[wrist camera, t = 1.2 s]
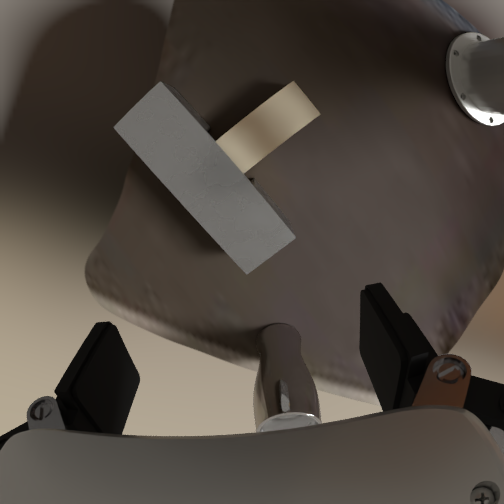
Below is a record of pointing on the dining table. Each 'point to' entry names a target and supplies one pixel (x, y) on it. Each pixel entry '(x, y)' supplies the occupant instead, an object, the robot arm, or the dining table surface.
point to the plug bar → (268, 126)
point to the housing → (205, 177)
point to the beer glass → (283, 382)
